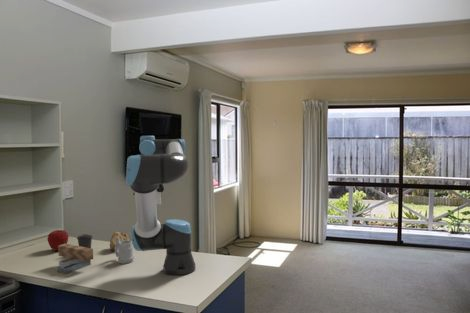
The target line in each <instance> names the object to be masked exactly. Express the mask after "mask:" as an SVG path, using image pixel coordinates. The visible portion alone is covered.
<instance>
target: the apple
mask: <svg viewBox="0 0 470 313" xmlns="http://www.w3.org/2000/svg"><path fill="white" fill-rule="evenodd" d="M68 242H69V234H68V232H67V231H65V230H64V229H61V230H59V229H57V230H53V231H51V232H50V233H49V234H48V236H47V243H48V245H49V247H50V248H51V250H53V251H57V252H58V246H59V245H62V244H68Z"/></svg>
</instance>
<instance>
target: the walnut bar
mask: <svg viewBox="0 0 470 313" xmlns="http://www.w3.org/2000/svg"><path fill="white" fill-rule="evenodd" d="M57 252H58V256H59V257H63V258H67V259H68V258H72V259H77V260H82V261H89V260H94V249H93V248H92V247H91V248H86V247H81V246H79V245H74V244H69V243H67V244H62V245H59V246H58V251H57Z"/></svg>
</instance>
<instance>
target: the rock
mask: <svg viewBox="0 0 470 313" xmlns="http://www.w3.org/2000/svg"><path fill="white" fill-rule="evenodd" d="M117 236H118V237H119V239H120V242H121V241H130V237H129V234H128V233H127V232H119V231H114V233H113V234H112V235H111V238H110V241H109V242H110V243H109V248H110V250H111V251H112V250H113V251H115V244H116V237H117ZM118 248H119V246H118Z"/></svg>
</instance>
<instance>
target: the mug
mask: <svg viewBox="0 0 470 313" xmlns="http://www.w3.org/2000/svg"><path fill="white" fill-rule="evenodd" d="M118 246H119V248H118ZM133 249H134V246H133V242H132V240H129V241H121V242H120V239H119V237H118V236H117V237H116V244H115V250H114V253H115V256H116V258H117V260H118V263H119V264H130V263H133V262H134V258H135V256H134V254H133V253H134V251H133Z"/></svg>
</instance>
